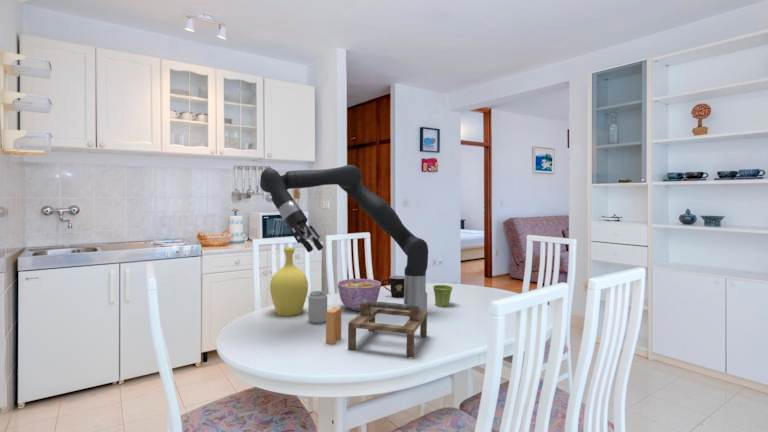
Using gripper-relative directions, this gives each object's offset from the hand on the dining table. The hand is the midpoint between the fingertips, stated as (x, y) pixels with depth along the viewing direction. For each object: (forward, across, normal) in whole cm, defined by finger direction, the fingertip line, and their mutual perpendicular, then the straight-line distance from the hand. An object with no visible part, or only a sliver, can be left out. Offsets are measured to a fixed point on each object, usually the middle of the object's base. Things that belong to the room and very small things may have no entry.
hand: (316, 250), depth 156 cm
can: (+21, +14, +23) cm, 34 cm away
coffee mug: (+30, +65, +6) cm, 72 cm away
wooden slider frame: (+42, 0, -4) cm, 42 cm away
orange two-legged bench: (+31, -5, +11) cm, 33 cm away
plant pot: (+46, +56, -13) cm, 74 cm away
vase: (+10, +21, +36) cm, 43 cm away
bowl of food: (+25, +38, +15) cm, 48 cm away
